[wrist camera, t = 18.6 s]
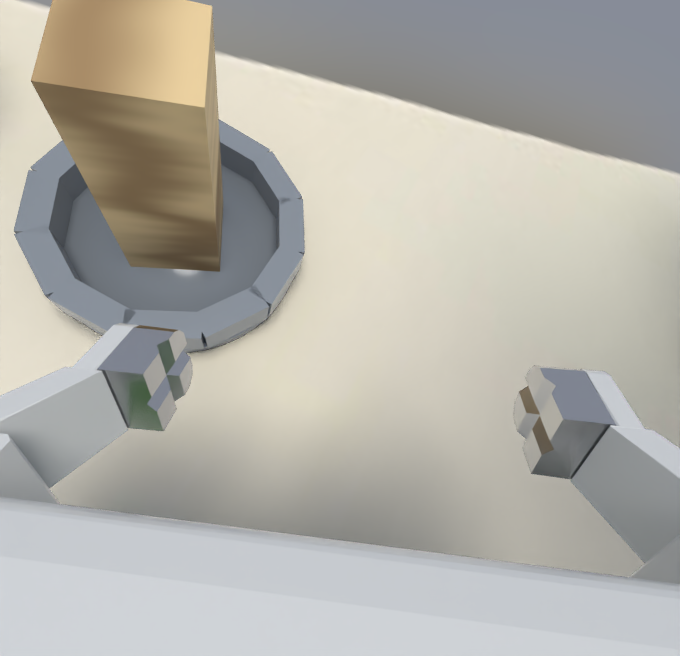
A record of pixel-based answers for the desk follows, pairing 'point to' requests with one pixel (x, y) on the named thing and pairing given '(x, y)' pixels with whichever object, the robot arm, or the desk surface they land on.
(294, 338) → the desk surface
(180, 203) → the oak block
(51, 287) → the bowl
